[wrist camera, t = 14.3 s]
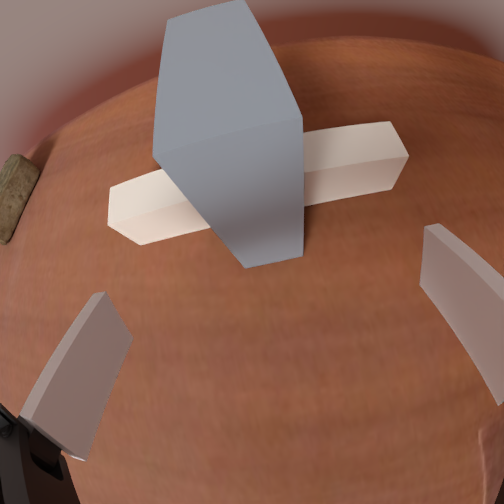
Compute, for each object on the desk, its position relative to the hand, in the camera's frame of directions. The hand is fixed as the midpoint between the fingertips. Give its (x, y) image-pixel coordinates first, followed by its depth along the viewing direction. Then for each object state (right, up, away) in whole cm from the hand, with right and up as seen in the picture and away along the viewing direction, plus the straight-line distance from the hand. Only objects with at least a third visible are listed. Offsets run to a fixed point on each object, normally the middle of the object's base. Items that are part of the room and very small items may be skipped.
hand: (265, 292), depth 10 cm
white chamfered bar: (0, +5, +10) cm, 12 cm away
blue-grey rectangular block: (0, +5, +10) cm, 11 cm away
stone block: (-32, +8, +17) cm, 37 cm away
